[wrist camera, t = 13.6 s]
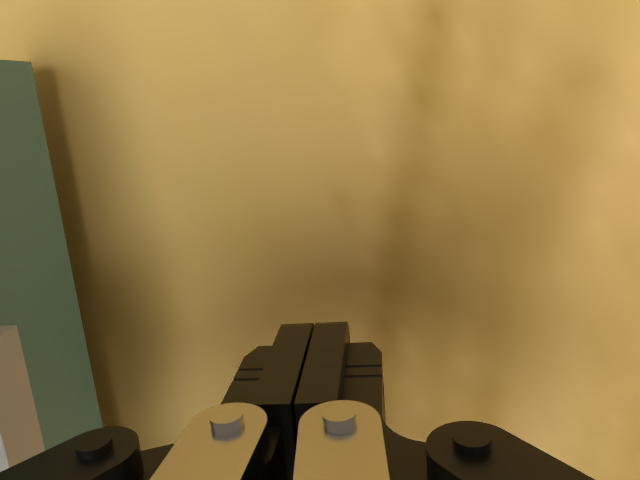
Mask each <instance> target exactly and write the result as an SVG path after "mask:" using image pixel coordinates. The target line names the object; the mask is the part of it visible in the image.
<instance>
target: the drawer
mask: <svg viewBox="0 0 640 480" xmlns="http://www.w3.org/2000/svg"><path fill="white" fill-rule="evenodd" d="M98 428H103V426H102V421H101V416H100V411H99V405H98V400H97V395H96V390H95V385H94V380H93V375H92V370H91V365H90V360H89V355H88V350H87V344H86V339H85V334H84V329H83V324H82V319H81V314H80V309H79V304H78V299H77V294H76V289H75V283H74V278H73V273H72V268H71V263H70V258H69V253H68V248H67V243H66V238H65V233H64V228H63V222H62V217H61V212H60V207H59V202H58V197H57V192H56V187H55V182H54V177H53V172H52V167H51V161H50V156H49V151H48V146H47V141H46V136H45V131H44V126H43V121H42V116H41V111H40V106H39V101H38V95H37V90H36V85H35V80H34V75H33V70H32V65H31V62H24V61H11V60H0V472H1V471H4V470H6V469H8V468H10V467H12V466H14V465H16V464H18V463H20V462H22V461H25V460H27V459H29V458H31V457H33V456H35V455H37V454H39V453H41V452H44V451H46V450H48V449H50V448H52V447H54V446H56V445H58V444H60V443H62V442H65V441H67V440H69V439H71V438H73V437H75V436H77V435H80V434H82V433H84V432H87V431H90V430H94V429H98Z"/></svg>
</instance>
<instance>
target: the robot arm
mask: <svg viewBox="0 0 640 480" xmlns="http://www.w3.org/2000/svg"><path fill="white" fill-rule="evenodd" d="M0 480H595V479H593V478H591V477H589V476H587V475H585V474H584V473H582V472H580V471H578V470H576V469H574V468H573V467H571V466H569V465H567V464H565V463H563V462H562V461H560V460H558V459H556V458H554V457H552V456H551V455H549V454H547V453H545V452H543V451H541V450H540V449H538V448H536V447H534V446H532V445H530V444H529V443H527V442H525V441H523V440H521V439H519V438H518V437H516V436H514V435H512V434H510V433H508V432H507V431H505V430H503V429H501V428H499V427H497V426H494V425H491V424H487V423H483V422H476V421H458V422H452V423H448V424H445V425H442V426H440V427H438V428H436V429H435V430H434V431H432V432H431V433H430V435H429V436H428V438H427V440H426V443H425V442H419V441H415V440H411V439H408V438H405V437H402V436H400V435H398V434H396V433H395V432H393V431H392V430H391V429H390V428H389V427H388V426H387V425H386V424H385V403H384V386H383V369H382V352H381V351H380V350H379V349H378V348H377V347H376V346H375V345H374V344H373V343H372V342H365V343H350V333H349V325H348V322H328V323H315V325H314V323H304V324H282V325H281V326H280V329H279V331H278V334H277V336H276V338H275V341H274V343H273V346H258V347H257V348H256V349H254V350H253V351H252V352H250V353H249V354H248V355H246V356H245V357H244V359H243V361H242V363H241V365H240V367H239V369H238V371H237V373H236V375H235V377H234V381H232V383H231V385H230V387H229V389H228V391H227V393H226V395H225V397H224V399H223V401H222V403H221V405H217V406H214V407H211V408H209V409H206V410H205V411H203V412H201V413H199V414H198V415H196V416H195V417H194V418H193V419H192V420H191V421H190V422H189V424H188V425H187V427H186V428H185V430H184V431H183V432H182V434H181V435H180V437H179V438H178V440H177V441H176V443H175V444H171V445H167V446H162V447H157V448H152V449H148V450H143V451H141V450H140V445H139V439H138V436H137V434H136V433H135V432H134V431H132V430H130V429H128V428H124V427H104V428H98V429H94V430H90V431H87V432H84V433H82V434H80V435H77V436H75V437H73V438H71V439H69V440H67V441H65V442H62V443H60V444H58V445H56V446H54V447H52V448H50V449H48V450H46V451H44V452H41V453H39V454H37V455H35V456H33V457H31V458H29V459H27V460H25V461H22V462H20V463H18V464H16V465H14V466H12V467H10V468H8V469H6V470H4V471H1V472H0Z"/></svg>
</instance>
